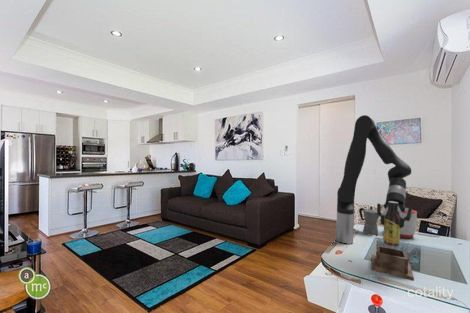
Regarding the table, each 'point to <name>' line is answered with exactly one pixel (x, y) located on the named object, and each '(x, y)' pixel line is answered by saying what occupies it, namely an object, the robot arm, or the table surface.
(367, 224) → the coffeepot
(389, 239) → the sauce bottle
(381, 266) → the bottle stand
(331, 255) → the table surface
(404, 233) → the citrus juicer
